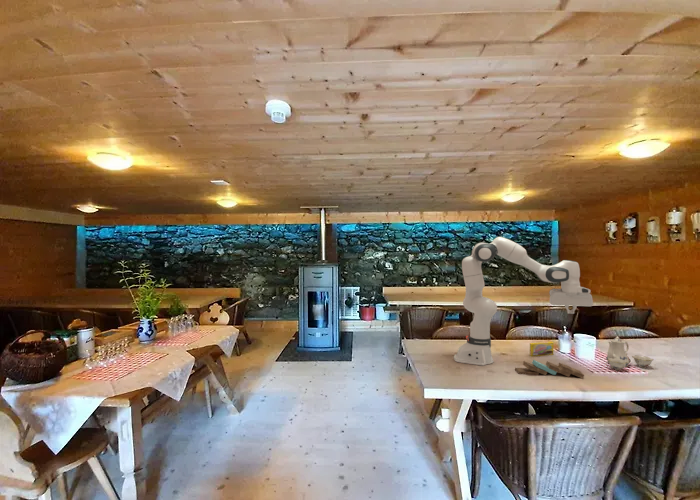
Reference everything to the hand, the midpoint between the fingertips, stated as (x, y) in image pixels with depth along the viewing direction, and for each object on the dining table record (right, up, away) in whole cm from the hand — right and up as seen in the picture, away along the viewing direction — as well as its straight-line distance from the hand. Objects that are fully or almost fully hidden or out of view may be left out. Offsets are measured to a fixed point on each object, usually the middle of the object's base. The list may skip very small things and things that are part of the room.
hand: (570, 313), depth 179 cm
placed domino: (-15, -30, -8) cm, 34 cm away
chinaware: (+31, -30, +1) cm, 43 cm away
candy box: (-3, -31, +23) cm, 39 cm away
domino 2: (-20, -30, -8) cm, 37 cm away
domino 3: (-9, -30, -11) cm, 33 cm away
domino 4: (-3, -29, -13) cm, 32 cm away
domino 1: (-23, -30, -7) cm, 39 cm away
